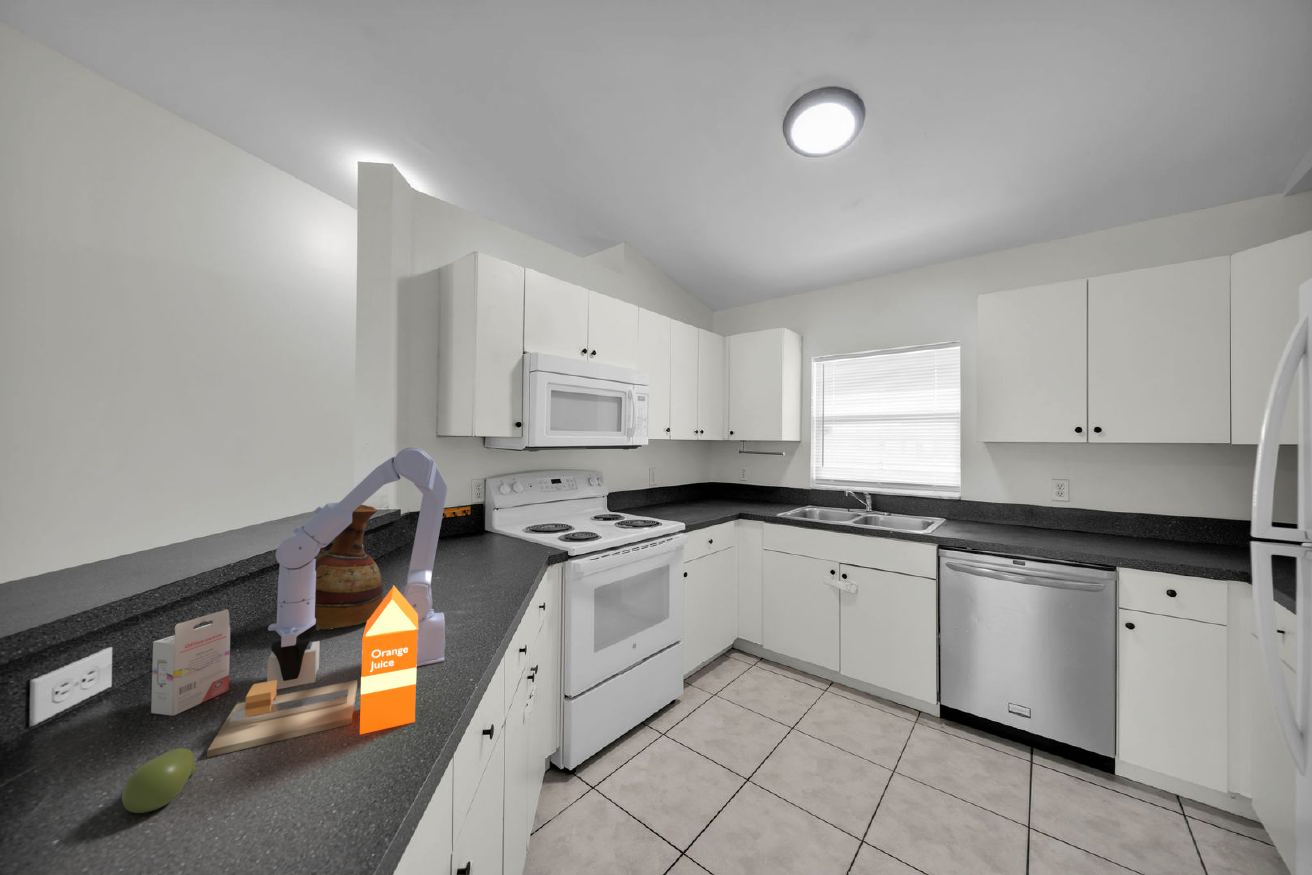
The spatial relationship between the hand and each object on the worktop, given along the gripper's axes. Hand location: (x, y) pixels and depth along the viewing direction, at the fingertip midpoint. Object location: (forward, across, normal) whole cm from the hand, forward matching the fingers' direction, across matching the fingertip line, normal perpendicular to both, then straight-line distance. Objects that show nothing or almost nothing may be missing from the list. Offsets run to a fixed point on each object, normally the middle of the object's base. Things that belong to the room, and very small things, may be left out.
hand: (294, 671), depth 88 cm
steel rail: (+2, +15, +2) cm, 15 cm away
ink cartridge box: (+2, +1, -14) cm, 14 cm away
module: (+2, 0, 0) cm, 2 cm away
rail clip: (0, +15, -2) cm, 15 cm away
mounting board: (+2, +15, +2) cm, 15 cm away
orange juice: (+2, +22, +16) cm, 27 cm away
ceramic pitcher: (+2, -31, +4) cm, 31 cm away
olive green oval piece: (+2, +28, -9) cm, 30 cm away
